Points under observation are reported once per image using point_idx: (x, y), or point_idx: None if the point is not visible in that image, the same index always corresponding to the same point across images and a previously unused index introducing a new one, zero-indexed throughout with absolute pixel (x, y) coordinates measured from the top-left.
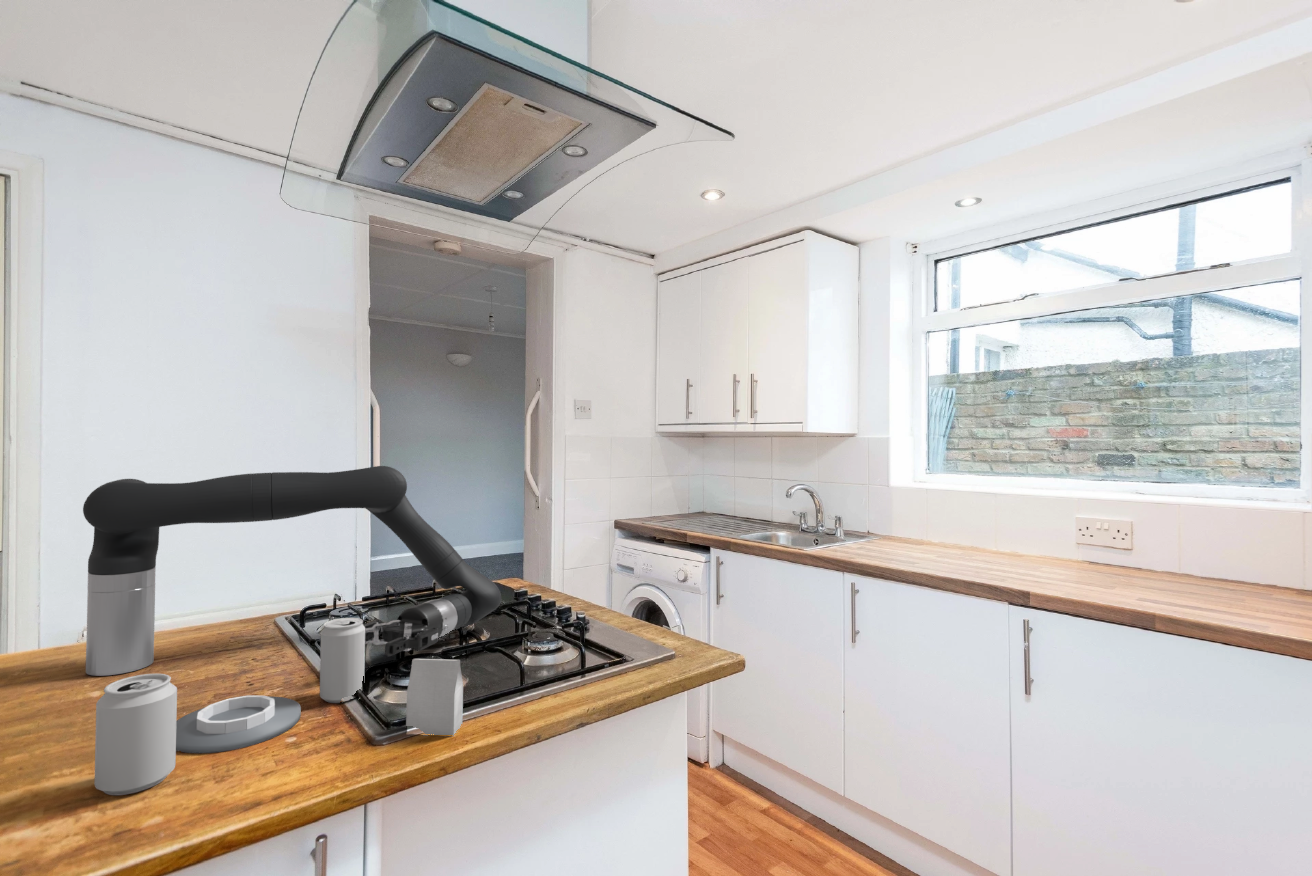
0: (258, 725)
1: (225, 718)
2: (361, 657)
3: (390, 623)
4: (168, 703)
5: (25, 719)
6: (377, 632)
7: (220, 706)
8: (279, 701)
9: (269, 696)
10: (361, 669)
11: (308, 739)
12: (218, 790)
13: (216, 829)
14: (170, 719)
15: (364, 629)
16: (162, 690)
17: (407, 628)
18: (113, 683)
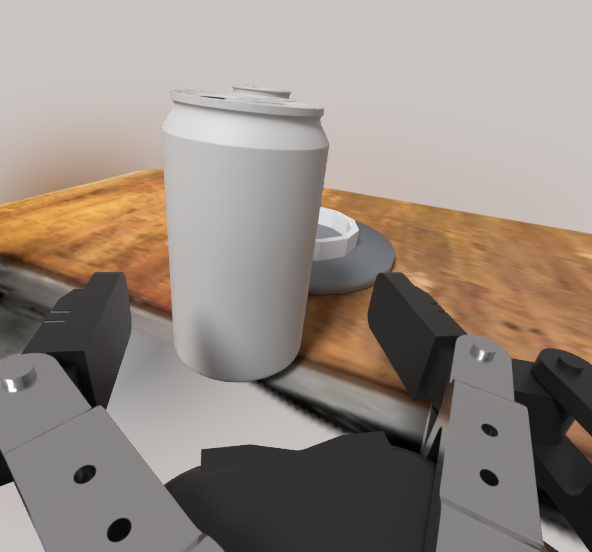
0: None
1: (318, 235)
2: (168, 237)
3: (460, 506)
4: None
5: (517, 223)
6: (435, 433)
7: (348, 230)
8: (314, 272)
9: (359, 279)
10: (170, 278)
11: (144, 246)
12: (159, 197)
13: (105, 181)
14: None
15: (168, 133)
16: (233, 93)
17: (84, 460)
18: (283, 90)
